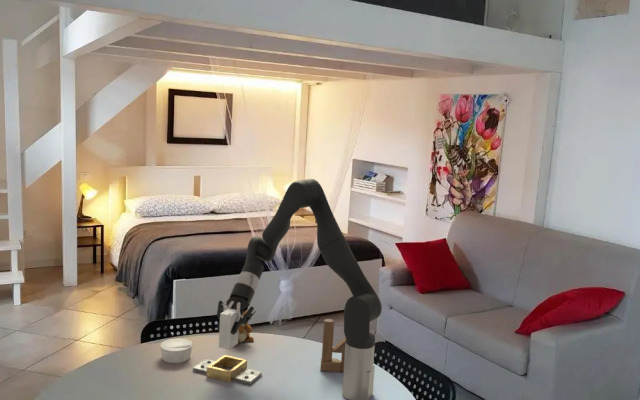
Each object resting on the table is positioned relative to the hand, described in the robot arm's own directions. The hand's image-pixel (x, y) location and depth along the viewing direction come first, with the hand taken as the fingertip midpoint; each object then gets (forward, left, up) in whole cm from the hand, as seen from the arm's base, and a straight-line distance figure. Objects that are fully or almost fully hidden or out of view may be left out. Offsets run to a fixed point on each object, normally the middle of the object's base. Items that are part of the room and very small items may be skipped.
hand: (226, 332), depth 181 cm
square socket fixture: (0, -2, -15) cm, 15 cm away
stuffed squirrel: (+12, -30, -15) cm, 36 cm away
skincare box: (0, -2, -6) cm, 6 cm away
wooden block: (-32, -22, -15) cm, 42 cm away
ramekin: (+22, -4, -15) cm, 27 cm away
